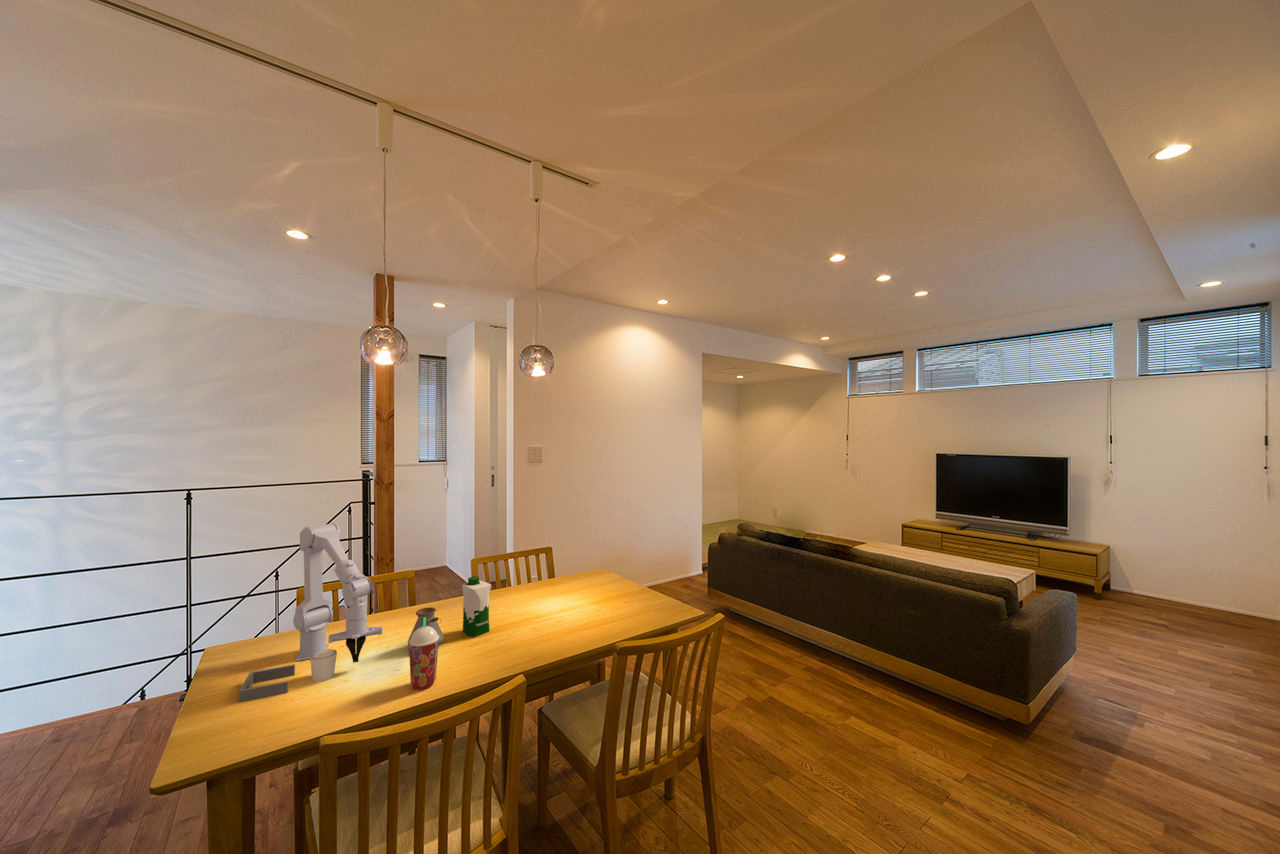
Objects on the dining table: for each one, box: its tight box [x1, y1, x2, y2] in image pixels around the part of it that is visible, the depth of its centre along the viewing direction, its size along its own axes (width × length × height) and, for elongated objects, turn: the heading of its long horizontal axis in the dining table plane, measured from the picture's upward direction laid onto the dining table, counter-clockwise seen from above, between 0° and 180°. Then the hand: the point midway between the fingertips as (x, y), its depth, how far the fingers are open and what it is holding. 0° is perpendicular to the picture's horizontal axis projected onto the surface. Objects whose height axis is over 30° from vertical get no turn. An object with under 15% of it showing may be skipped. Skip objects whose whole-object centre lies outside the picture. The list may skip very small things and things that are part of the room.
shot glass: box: [309, 648, 338, 682], centre depth 145 cm, size 7×7×7 cm
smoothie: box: [408, 617, 440, 691], centre depth 141 cm, size 8×8×20 cm
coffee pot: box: [407, 606, 444, 646], centre depth 161 cm, size 21×12×15 cm, turn 37°
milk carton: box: [462, 576, 492, 638], centre depth 178 cm, size 9×9×20 cm
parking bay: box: [237, 664, 296, 703], centre depth 138 cm, size 12×11×3 cm
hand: (355, 660), depth 149 cm, fingers closed
